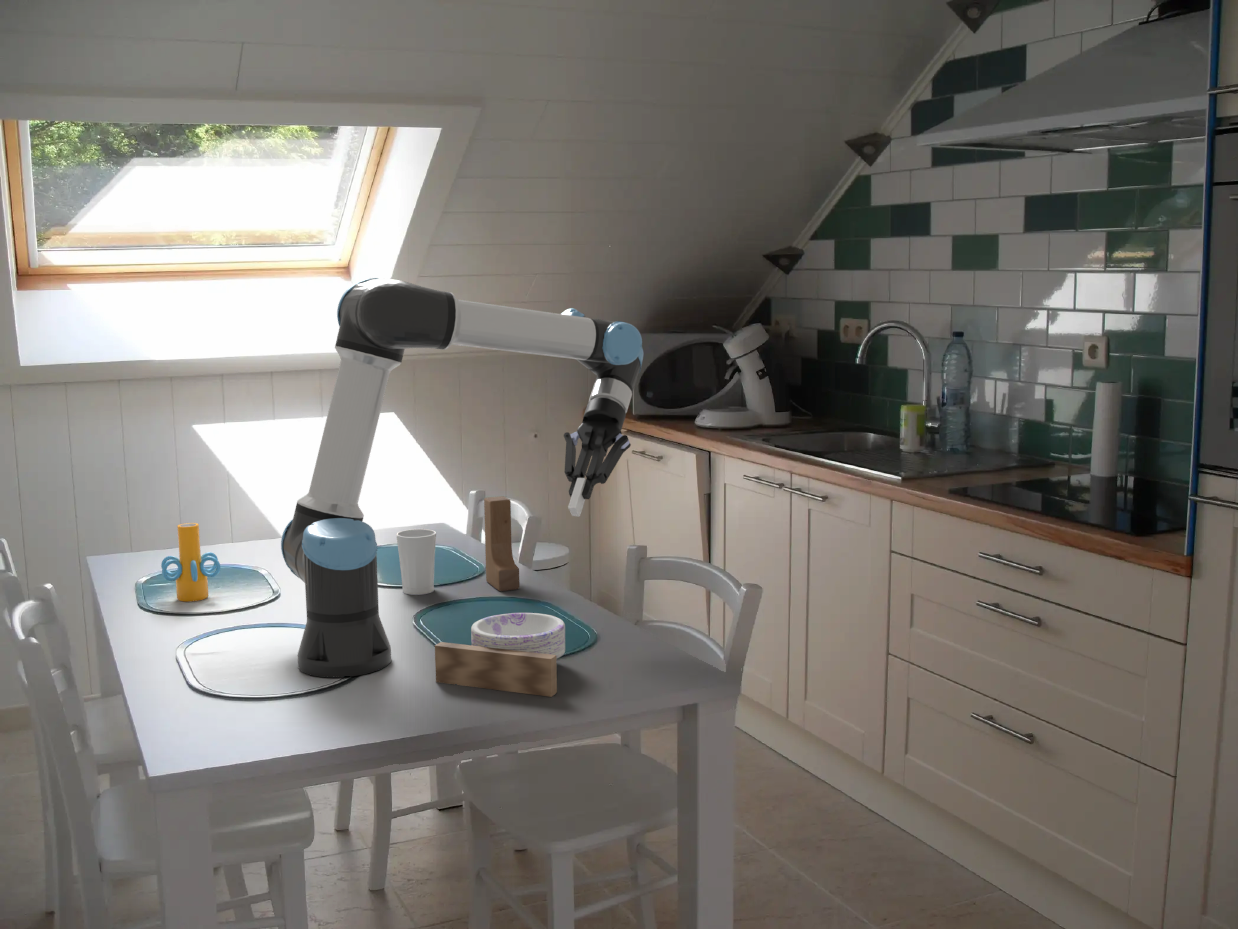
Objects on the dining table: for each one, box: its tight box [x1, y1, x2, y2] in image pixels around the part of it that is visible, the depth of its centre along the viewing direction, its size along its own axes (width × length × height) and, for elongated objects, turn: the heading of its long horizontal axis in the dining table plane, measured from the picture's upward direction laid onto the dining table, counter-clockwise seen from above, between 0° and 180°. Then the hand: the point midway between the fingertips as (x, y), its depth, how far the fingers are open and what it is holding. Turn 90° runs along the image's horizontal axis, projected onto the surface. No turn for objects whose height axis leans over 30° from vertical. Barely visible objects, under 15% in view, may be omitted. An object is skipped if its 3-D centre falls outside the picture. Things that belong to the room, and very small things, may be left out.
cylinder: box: [160, 522, 221, 603], centre depth 239 cm, size 12×10×15 cm
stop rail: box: [434, 641, 558, 698], centre depth 186 cm, size 20×2×6 cm, turn 69°
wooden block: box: [483, 495, 520, 592], centre depth 246 cm, size 9×4×18 cm, turn 24°
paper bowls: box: [470, 612, 566, 660], centre depth 194 cm, size 15×15×8 cm
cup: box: [396, 528, 437, 596], centre depth 243 cm, size 8×8×12 cm
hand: (573, 512), depth 212 cm, fingers closed
